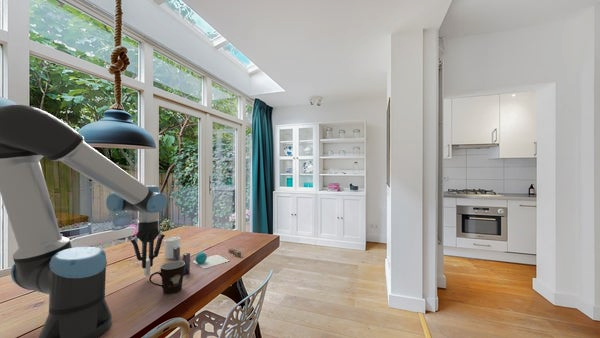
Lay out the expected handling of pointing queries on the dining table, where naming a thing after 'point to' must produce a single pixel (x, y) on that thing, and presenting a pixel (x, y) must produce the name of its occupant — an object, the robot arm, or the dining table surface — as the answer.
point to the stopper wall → (234, 252)
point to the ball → (201, 258)
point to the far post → (176, 254)
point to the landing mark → (212, 261)
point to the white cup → (171, 246)
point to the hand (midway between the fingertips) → (147, 274)
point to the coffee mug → (171, 276)
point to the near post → (186, 263)
